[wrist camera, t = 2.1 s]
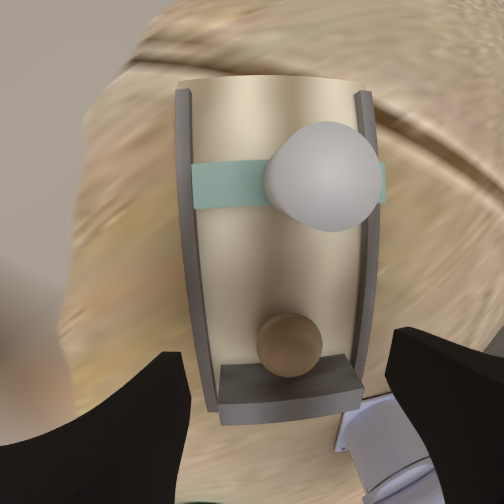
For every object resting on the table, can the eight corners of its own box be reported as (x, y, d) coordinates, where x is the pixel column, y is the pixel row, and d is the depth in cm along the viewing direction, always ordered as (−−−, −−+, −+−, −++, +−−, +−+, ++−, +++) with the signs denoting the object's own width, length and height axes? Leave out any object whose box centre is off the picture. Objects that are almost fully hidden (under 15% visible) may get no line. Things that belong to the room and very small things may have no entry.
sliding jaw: (352, 159, 15) (451, 139, 7) (354, 207, 16) (453, 228, 7) (203, 162, 15) (158, 129, 6) (205, 213, 16) (164, 240, 7)
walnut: (314, 300, 17) (333, 328, 14) (312, 351, 18) (327, 385, 14) (253, 304, 17) (257, 335, 13) (256, 356, 18) (259, 393, 14)
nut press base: (355, 89, 16) (394, 60, 10) (347, 387, 21) (370, 430, 16) (182, 89, 16) (160, 52, 10) (210, 400, 21) (204, 450, 15)
